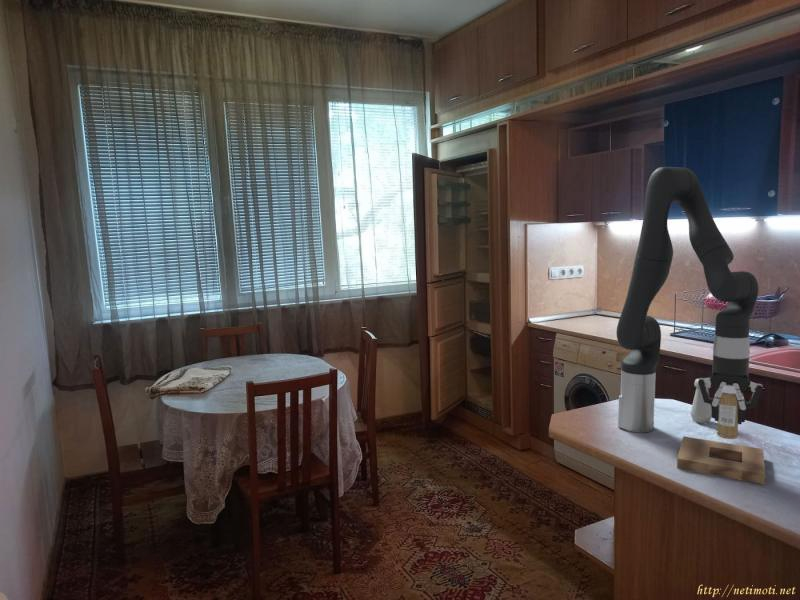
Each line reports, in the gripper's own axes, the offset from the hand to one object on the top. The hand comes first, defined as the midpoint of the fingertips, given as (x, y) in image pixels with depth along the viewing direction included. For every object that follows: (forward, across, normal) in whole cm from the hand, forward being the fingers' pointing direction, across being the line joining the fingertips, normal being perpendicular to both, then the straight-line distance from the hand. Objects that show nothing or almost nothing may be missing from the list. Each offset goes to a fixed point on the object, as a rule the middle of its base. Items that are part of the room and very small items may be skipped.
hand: (728, 421), depth 134 cm
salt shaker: (+11, -7, +30) cm, 33 cm away
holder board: (+11, -1, 0) cm, 11 cm away
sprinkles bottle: (+4, 0, 0) cm, 4 cm away
